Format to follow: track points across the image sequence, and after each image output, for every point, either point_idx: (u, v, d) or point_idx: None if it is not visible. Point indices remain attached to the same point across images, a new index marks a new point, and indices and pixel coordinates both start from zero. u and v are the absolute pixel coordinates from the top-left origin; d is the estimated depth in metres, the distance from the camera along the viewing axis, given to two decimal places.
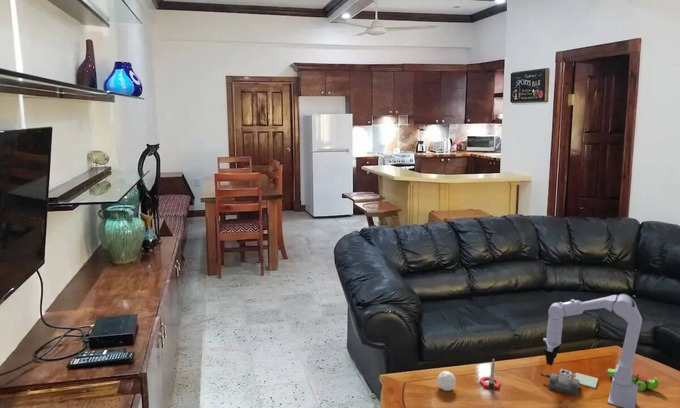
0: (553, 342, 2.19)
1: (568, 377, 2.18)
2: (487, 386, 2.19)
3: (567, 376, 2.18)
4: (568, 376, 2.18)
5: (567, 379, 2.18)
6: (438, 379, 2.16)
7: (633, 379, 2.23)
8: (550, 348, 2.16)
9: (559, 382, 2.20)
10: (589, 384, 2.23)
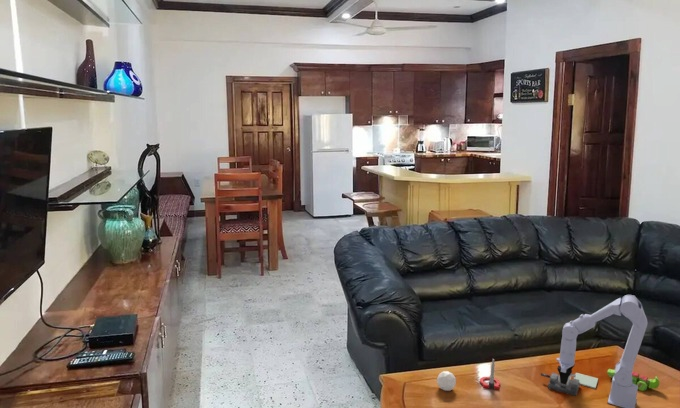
0: (567, 362, 2.17)
1: (568, 377, 2.18)
2: (487, 386, 2.19)
3: None
4: None
5: None
6: (438, 379, 2.16)
7: (634, 379, 2.23)
8: (564, 369, 2.13)
9: (559, 382, 2.20)
10: (589, 384, 2.23)
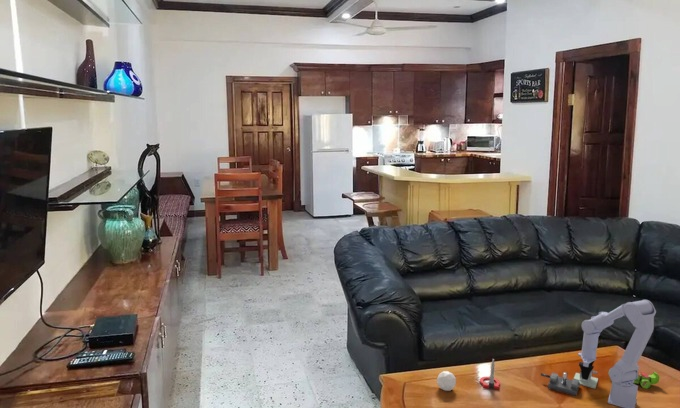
0: (589, 357, 2.22)
1: (589, 374, 2.24)
2: (487, 386, 2.19)
3: None
4: None
5: None
6: (438, 379, 2.16)
7: (637, 378, 2.24)
8: (586, 363, 2.19)
9: (580, 379, 2.26)
10: (589, 384, 2.23)
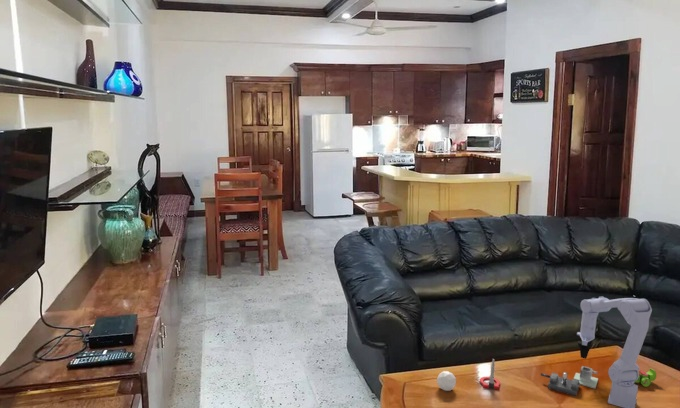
0: (587, 336, 2.27)
1: (589, 374, 2.24)
2: (487, 386, 2.19)
3: (588, 373, 2.24)
4: (589, 373, 2.24)
5: (588, 376, 2.24)
6: (438, 379, 2.16)
7: (638, 377, 2.25)
8: (585, 342, 2.24)
9: (580, 379, 2.26)
10: (589, 384, 2.23)
